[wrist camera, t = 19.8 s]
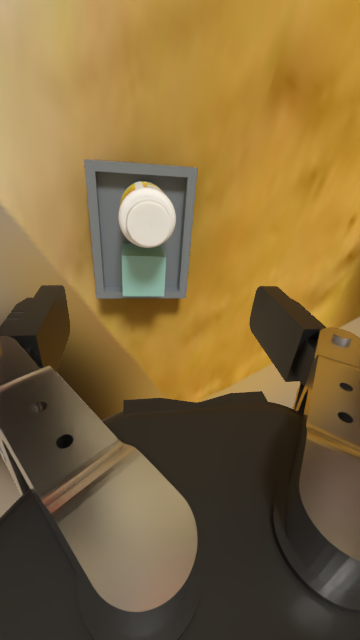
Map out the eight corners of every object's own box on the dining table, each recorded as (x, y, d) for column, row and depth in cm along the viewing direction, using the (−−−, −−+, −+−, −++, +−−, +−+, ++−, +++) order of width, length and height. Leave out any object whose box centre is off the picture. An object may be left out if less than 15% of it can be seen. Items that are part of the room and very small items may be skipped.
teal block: (162, 244, 36) (166, 256, 32) (160, 280, 39) (164, 296, 34) (122, 243, 35) (121, 255, 31) (123, 280, 38) (122, 296, 34)
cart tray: (190, 166, 34) (197, 168, 31) (181, 286, 42) (185, 298, 39) (89, 158, 32) (84, 159, 29) (99, 286, 40) (96, 298, 37)
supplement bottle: (125, 233, 35) (123, 259, 26) (115, 183, 32) (110, 195, 23) (169, 226, 35) (182, 251, 27) (164, 177, 32) (176, 186, 24)
